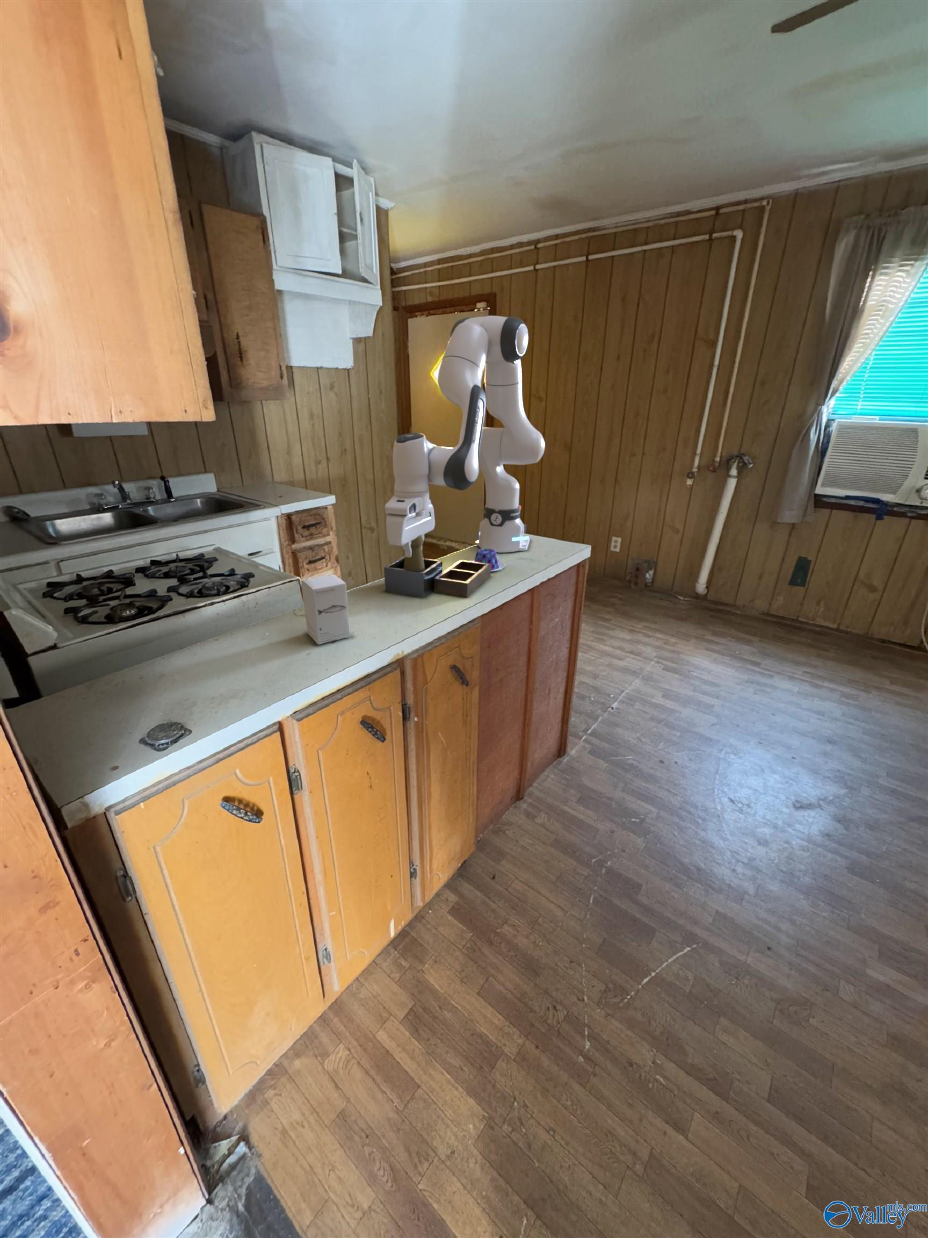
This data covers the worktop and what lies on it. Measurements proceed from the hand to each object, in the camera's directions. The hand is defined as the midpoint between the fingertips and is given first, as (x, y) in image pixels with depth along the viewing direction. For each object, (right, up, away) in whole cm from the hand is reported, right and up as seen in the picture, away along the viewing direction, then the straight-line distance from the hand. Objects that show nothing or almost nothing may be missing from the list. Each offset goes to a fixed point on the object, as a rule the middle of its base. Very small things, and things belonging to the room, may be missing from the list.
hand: (413, 553), depth 133 cm
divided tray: (+13, -8, +7) cm, 17 cm away
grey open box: (0, -9, +4) cm, 10 cm away
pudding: (+20, -2, +21) cm, 29 cm away
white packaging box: (-16, -21, -24) cm, 36 cm away
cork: (0, -5, +2) cm, 6 cm away
